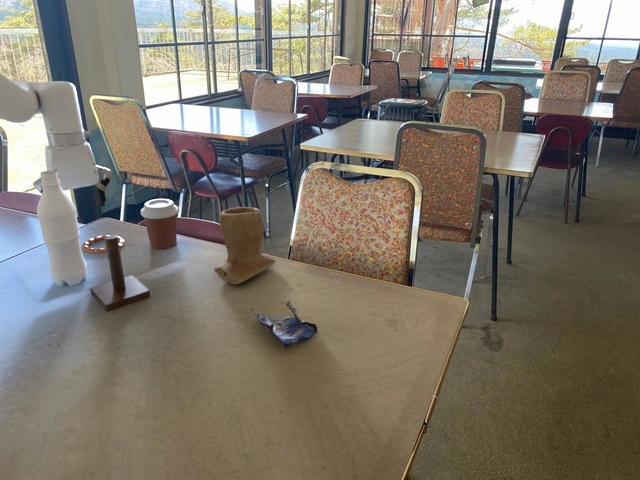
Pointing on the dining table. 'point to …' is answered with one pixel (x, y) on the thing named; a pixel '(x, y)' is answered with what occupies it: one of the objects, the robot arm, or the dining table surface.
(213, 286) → the dining table surface
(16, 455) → the dining table surface
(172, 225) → the coffee cup
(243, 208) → the stone cup
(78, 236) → the water bottle
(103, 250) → the hanging ring
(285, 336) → the snack package
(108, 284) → the ring toss peg
